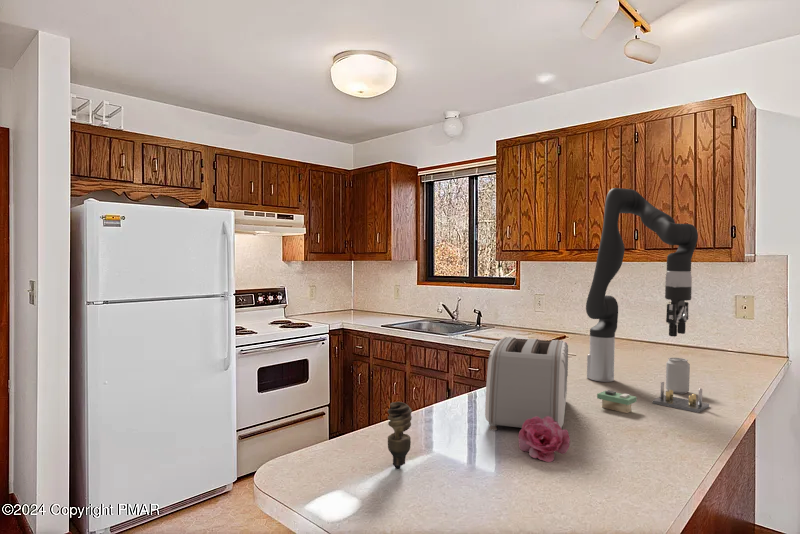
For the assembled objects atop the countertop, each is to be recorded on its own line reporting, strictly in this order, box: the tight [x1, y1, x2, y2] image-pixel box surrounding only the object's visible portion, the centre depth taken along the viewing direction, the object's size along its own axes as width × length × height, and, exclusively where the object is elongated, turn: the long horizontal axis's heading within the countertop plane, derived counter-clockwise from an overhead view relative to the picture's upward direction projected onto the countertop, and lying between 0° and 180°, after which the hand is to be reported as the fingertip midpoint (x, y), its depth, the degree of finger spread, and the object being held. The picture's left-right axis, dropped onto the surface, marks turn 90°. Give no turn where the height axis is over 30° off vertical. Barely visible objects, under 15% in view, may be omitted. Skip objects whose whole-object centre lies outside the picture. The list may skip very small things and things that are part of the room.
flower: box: [517, 416, 571, 463], centre depth 127 cm, size 11×10×10 cm
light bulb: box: [387, 401, 413, 470], centre depth 118 cm, size 6×6×15 cm
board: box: [596, 389, 638, 405], centre depth 166 cm, size 10×6×2 cm, turn 44°
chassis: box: [652, 381, 710, 414], centre depth 172 cm, size 14×10×6 cm
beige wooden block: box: [601, 399, 632, 414], centre depth 166 cm, size 8×3×3 cm, turn 44°
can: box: [665, 357, 691, 395], centre depth 189 cm, size 8×8×12 cm
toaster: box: [484, 336, 569, 432], centre depth 162 cm, size 21×45×22 cm, turn 161°
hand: (677, 334), depth 170 cm, fingers open, 8 cm apart
